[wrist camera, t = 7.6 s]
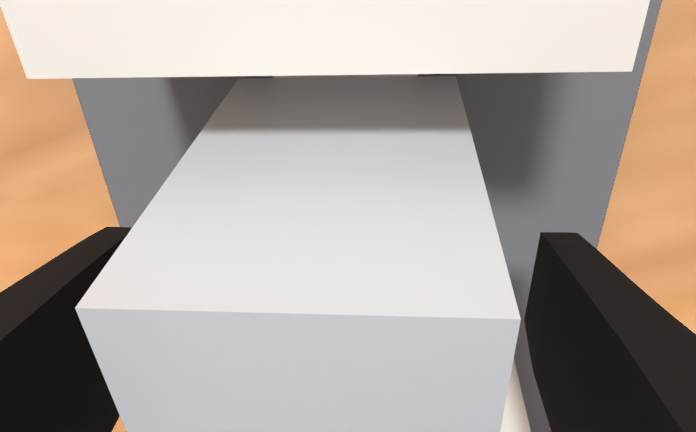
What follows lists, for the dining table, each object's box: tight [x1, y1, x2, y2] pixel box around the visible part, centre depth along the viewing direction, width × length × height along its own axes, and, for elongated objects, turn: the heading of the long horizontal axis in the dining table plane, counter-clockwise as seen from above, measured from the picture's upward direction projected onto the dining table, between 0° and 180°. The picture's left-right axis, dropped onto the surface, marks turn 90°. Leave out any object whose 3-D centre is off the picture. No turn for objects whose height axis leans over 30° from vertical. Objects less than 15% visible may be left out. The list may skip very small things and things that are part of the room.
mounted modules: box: [0, 0, 650, 432], centre depth 11 cm, size 16×8×4 cm, turn 2°
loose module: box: [75, 76, 521, 432], centre depth 10 cm, size 5×4×7 cm
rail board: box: [72, 0, 662, 432], centre depth 13 cm, size 26×12×1 cm, turn 2°
